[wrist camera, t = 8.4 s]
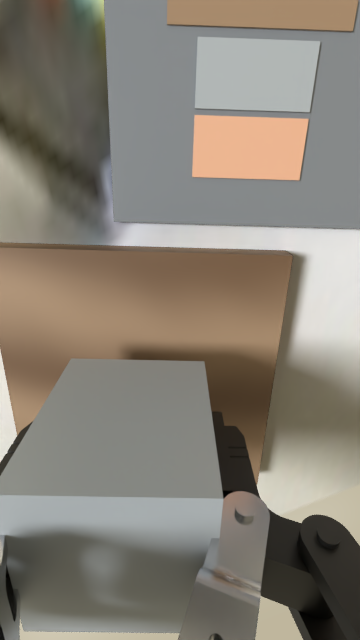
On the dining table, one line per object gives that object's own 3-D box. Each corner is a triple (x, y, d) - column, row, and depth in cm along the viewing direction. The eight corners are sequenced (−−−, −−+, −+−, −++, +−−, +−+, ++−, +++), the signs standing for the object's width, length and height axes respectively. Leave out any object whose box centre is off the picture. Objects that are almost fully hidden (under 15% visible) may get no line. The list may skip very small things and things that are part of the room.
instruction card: (103, -47, 11) (100, -55, 10) (423, -34, 11) (431, -41, 10) (114, 220, 14) (113, 222, 13) (362, 228, 14) (367, 229, 13)
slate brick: (71, 358, 13) (-12, 494, 7) (204, 361, 13) (223, 498, 7) (82, 460, 15) (23, 631, 9) (198, 462, 15) (210, 633, 9)
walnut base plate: (-7, 242, 14) (-20, 247, 13) (285, 250, 14) (293, 255, 13) (33, 465, 19) (25, 480, 18) (253, 469, 19) (257, 484, 18)
